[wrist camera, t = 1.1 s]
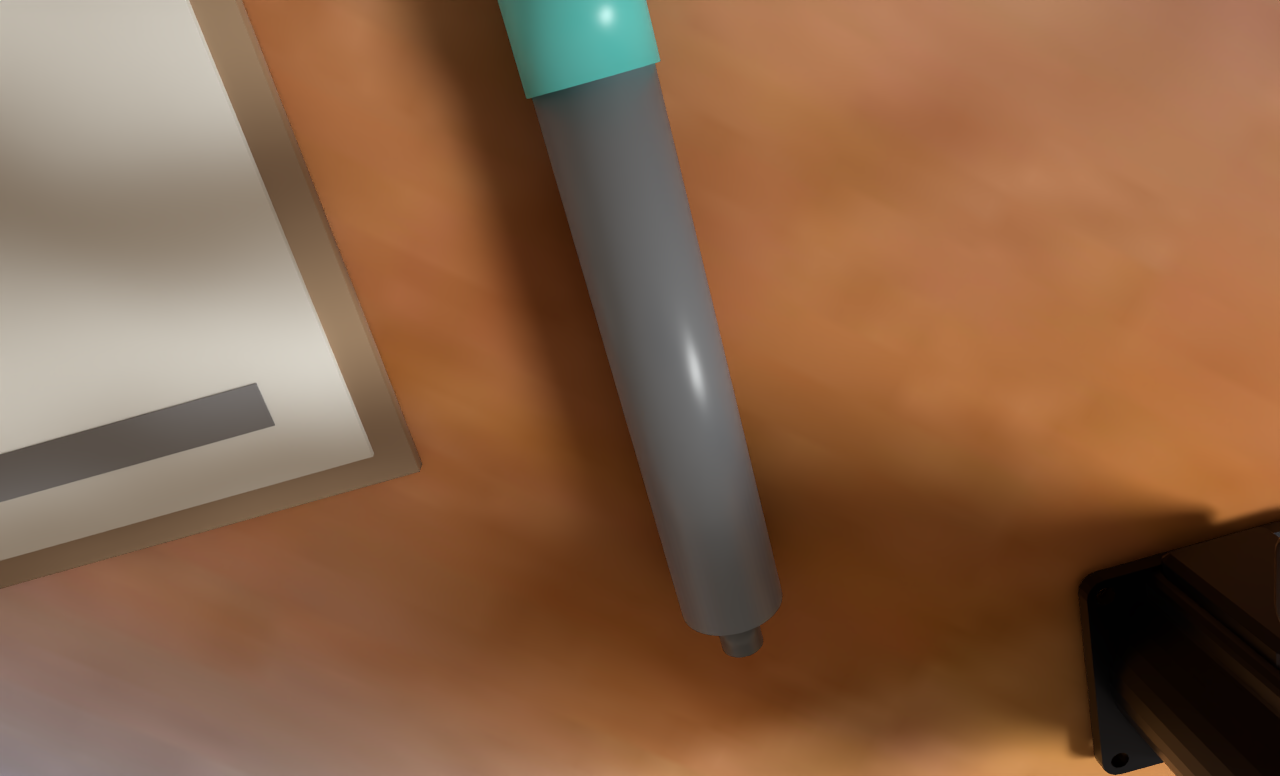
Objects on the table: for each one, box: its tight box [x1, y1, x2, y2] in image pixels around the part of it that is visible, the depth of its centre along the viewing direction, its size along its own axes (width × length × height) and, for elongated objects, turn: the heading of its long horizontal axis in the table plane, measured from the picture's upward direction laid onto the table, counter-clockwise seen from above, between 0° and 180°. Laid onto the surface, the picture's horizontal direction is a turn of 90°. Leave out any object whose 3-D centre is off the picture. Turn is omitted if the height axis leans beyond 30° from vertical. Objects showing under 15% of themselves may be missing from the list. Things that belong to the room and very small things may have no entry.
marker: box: [498, 0, 783, 657], centre depth 18 cm, size 16×3×3 cm, turn 15°
